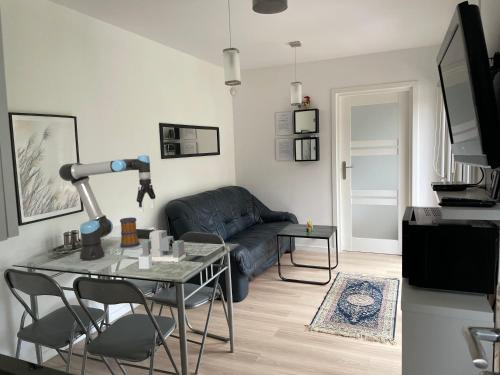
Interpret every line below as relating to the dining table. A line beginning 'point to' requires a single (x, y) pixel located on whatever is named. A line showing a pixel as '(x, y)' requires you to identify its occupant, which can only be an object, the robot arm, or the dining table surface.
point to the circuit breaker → (160, 243)
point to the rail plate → (175, 256)
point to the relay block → (145, 261)
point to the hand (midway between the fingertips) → (147, 210)
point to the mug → (128, 233)
